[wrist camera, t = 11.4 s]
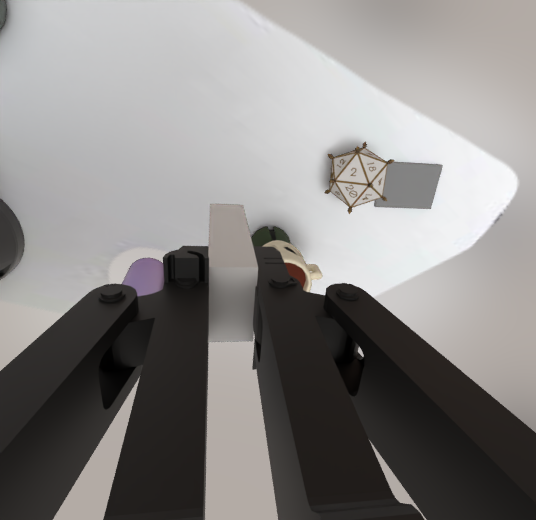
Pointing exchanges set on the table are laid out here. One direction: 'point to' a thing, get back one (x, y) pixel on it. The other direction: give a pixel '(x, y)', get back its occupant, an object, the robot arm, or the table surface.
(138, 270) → the beverage can
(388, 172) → the grey rubber mat
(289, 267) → the character mug
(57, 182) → the table surface
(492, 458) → the robot arm
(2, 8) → the bottle
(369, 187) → the game die
